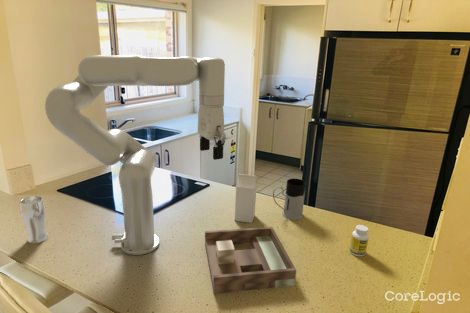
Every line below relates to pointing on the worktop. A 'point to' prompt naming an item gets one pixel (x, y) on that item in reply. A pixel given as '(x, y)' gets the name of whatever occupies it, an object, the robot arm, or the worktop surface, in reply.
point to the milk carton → (245, 198)
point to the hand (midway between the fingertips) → (211, 154)
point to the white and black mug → (293, 199)
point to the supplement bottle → (359, 241)
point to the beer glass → (34, 218)
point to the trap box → (249, 261)
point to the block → (225, 252)
